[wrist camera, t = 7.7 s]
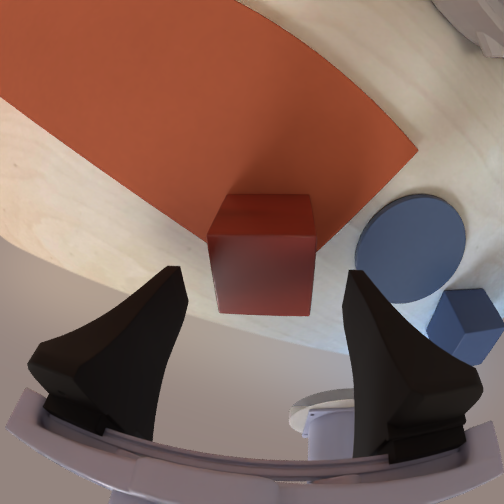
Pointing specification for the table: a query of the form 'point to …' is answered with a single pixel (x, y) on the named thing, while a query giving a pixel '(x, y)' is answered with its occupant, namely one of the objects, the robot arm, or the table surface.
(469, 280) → the table surface
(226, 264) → the red block
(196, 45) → the terracotta mat
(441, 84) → the table surface
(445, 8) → the grey mechanical part
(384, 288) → the blue coaster
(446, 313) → the blue block
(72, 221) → the table surface
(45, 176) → the table surface
